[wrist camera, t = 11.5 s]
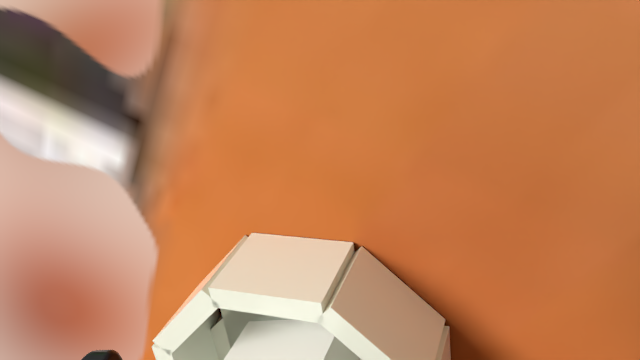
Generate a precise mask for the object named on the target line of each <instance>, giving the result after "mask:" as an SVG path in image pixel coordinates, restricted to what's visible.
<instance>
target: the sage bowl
mask: <svg viewBox="0 0 640 360" xmlns="http://www.w3.org/2000/svg"><path fill="white" fill-rule="evenodd" d="M218 308H220V310H221V314H222V315H221V316H220V314H219V310H218ZM292 319H294V320H301V321H308V322H314V323H320V324H321V325H322V326H323V327H324V328H326V329H327V330H328V331H329V332H330V333H331V334H333V335H334V336H335V337H336V338H337V339H338V340H340V341H341V342H342V343H343V344H344V345H345V346H347V347H348V348H349V349H350V350H351V351H352V352H354V353H355V354H356V355H357V356H358V357H359V358H360V359H361V360H451V354H450V329H449V326H444V324H445V320H446V319H445V318H443V317H442V316H441V315H440V314H439V313H438V312H437V311H435V310H434V309H433V308H432V307H431V306H430V305H429V304H427V303H426V302H425V301H424V300H423V299H422V298H421V297H419V296H418V295H417V294H416V293H415V292H414V291H413V290H411V289H410V288H409V287H408V286H407V285H406V284H405V283H403V282H402V281H401V280H400V279H399V278H398V277H397V276H395V275H394V274H393V273H392V272H391V271H390V270H389V269H387V268H386V267H385V266H384V265H383V264H382V263H381V262H379V261H378V260H377V259H376V258H375V257H374V256H373V255H371V254H370V253H369V252H368V251H367V250H366V249H365V248H363V247H362V246H361V247H360V248H359V249H358V250H357V251H356V252H355V251H354V243H353V242H344V241H334V240H323V239H313V238H302V237H292V236H281V235H271V234H260V233H251V235H250V236H249V237H248V236H246V235H245V236H244V237H243V238H242V239H241V240H240V241H239V242H238V243H237V244H236V245H235V247H234V248H233V249H232V250H231V251H230V252H229V253H228V254H227V255H226V256H225V257H224V258H223V259H222V260H221V261H220V263H219V264H218V265H217V266H216V267H215V268H214V269H213V270H212V271H211V272H210V273H209V274H208V275H207V276H206V278H205V279H204V280H203V281H202V282H201V283H200V284H199V285H198V286H197V287H196V289H195V290H194V291H193V292H192V293H191V295H190V296H189V297H188V298H187V300H186V301H185V302H184V303H183V304H182V306H181V307H180V308H179V309H178V310H177V312H176V313H175V314H174V315H173V317H172V318H171V319H170V320H169V321H168V323H167V324H166V325H165V326H164V328H163V329H162V330H161V331H160V332H159V334H158V335H157V336H156V337H155V339H154V340H153V342H154V344H153V346H152V349H153V352H154V355H155V358H156V360H224V358H225V357H226V355H227V354H228V352H229V351H230V349H231V348H232V346H233V345H234V343H235V342H236V340H237V339H238V337H239V336H240V334H241V333H242V331H243V330H244V328H245V326H246V325H247V323H248V322H249V321H270V320H292Z"/></svg>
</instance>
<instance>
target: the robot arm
mask: <svg viewBox="0 0 640 360" xmlns="http://www.w3.org/2000/svg"><path fill="white" fill-rule="evenodd" d="M82 360H122V358H121V356H120V355H119V353H118V352H116V351H114V350H96V351H92V352H90V353H88V354H87V355H86V356H85V357H84V358H83V359H82Z"/></svg>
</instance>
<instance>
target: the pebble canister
mask: <svg viewBox="0 0 640 360" xmlns="http://www.w3.org/2000/svg"><path fill="white" fill-rule="evenodd" d="M224 360H361V359H360V358H359V357H358V356H357V355H356V354H355V353H354V352H352V351H351V350H350V349H349V348H348V347H347V346H345V345H344V344H343V343H342V342H341V341H340V340H338V339H337V338H336V337H335V336H334V335H333V334H331V333H330V332H329V331H328V330H327V329H326V328H324V327H323V326H322V325H321V324H320V323H314V322H308V321H301V320H294V319H292V320H270V321H249V322H248V323H247V325H246V326H245V328H244V330H243V331H242V333H241V334H240V336H239V337H238V339H237V340H236V342H235V343H234V345H233V346H232V348H231V349H230V351H229V352H228V354H227V355H226V357H225V358H224Z"/></svg>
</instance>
